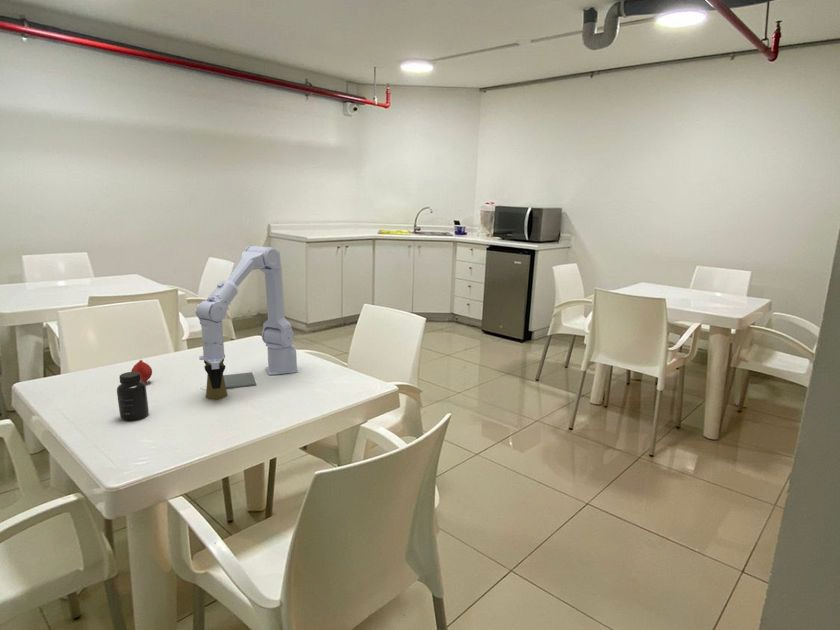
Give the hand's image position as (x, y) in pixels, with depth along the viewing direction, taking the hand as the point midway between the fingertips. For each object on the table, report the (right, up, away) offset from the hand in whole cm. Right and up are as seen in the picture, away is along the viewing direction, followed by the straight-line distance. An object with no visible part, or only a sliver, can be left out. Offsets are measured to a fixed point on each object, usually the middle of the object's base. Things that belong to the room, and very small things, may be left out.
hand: (215, 385), depth 152 cm
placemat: (+1, -1, +13) cm, 13 cm away
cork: (0, -4, +1) cm, 4 cm away
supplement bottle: (-16, -7, -15) cm, 23 cm away
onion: (-27, -1, +9) cm, 29 cm away
